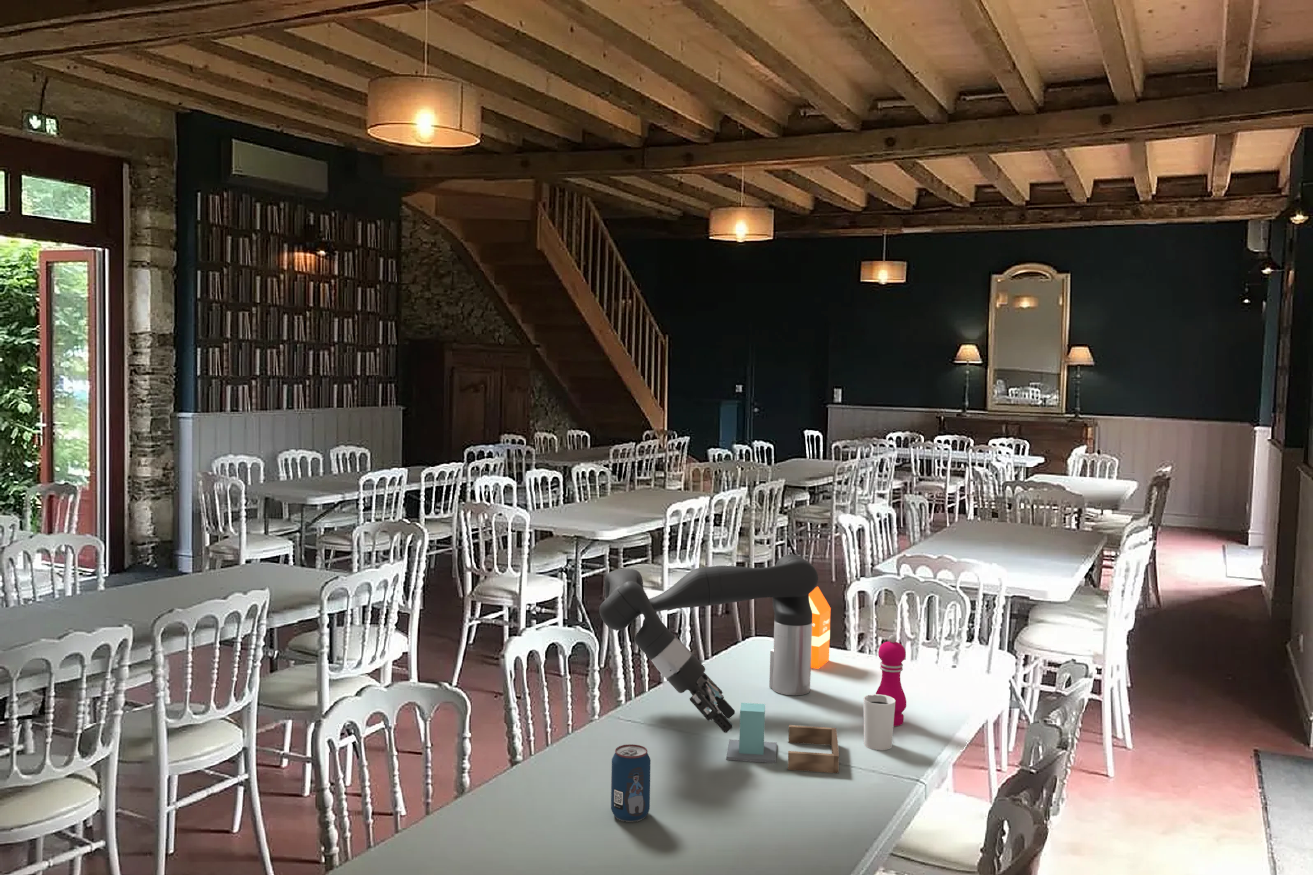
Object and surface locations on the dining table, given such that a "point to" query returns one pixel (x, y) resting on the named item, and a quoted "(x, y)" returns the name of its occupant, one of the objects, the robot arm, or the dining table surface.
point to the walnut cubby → (809, 759)
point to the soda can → (630, 783)
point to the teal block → (752, 728)
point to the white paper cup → (878, 721)
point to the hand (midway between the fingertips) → (730, 722)
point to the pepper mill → (893, 676)
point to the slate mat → (767, 756)
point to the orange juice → (819, 628)
